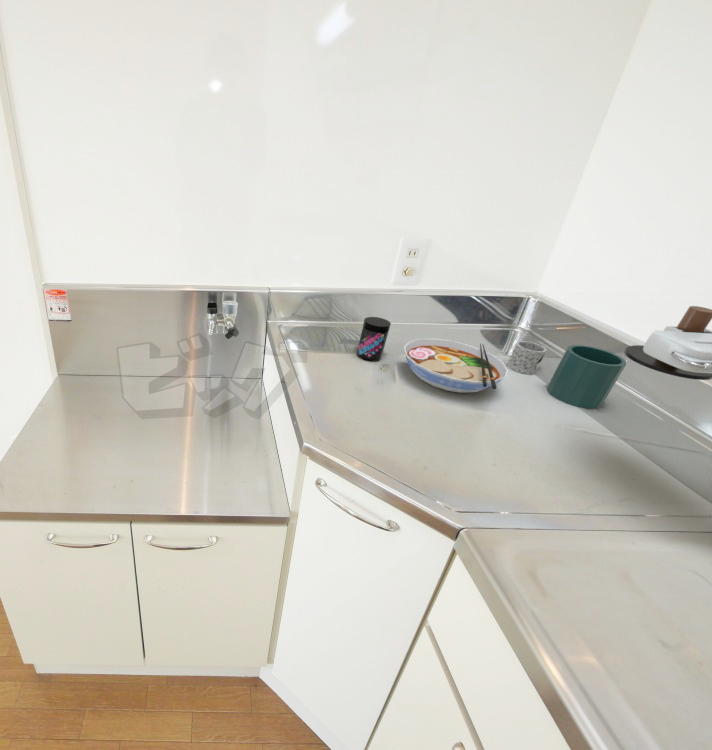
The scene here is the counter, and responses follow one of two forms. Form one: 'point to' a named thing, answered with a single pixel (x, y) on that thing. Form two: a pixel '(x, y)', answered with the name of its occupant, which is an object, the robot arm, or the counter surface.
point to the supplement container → (373, 338)
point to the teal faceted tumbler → (585, 376)
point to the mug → (526, 357)
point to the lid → (690, 322)
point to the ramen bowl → (454, 365)
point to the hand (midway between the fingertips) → (681, 331)
